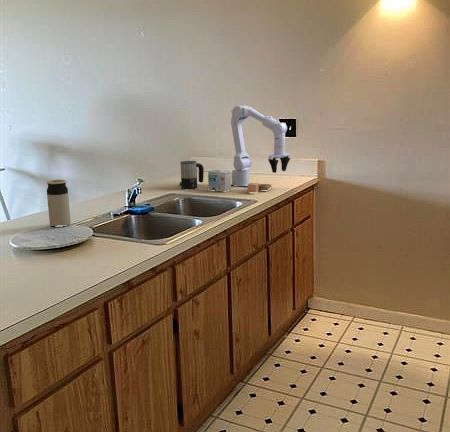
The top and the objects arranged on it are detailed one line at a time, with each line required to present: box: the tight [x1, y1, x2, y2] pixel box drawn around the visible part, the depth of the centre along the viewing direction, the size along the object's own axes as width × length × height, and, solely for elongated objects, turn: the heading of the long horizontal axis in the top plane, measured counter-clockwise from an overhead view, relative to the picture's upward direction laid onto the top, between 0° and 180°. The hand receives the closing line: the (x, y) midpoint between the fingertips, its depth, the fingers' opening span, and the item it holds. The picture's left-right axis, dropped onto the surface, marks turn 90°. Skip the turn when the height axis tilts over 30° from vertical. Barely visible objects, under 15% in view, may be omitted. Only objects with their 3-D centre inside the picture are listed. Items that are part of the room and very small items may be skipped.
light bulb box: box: [207, 169, 232, 192], centre depth 276 cm, size 11×7×11 cm, turn 62°
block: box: [247, 182, 260, 193], centre depth 269 cm, size 4×4×5 cm
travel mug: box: [46, 179, 72, 227], centre depth 205 cm, size 8×8×18 cm
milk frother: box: [179, 160, 205, 190], centre depth 287 cm, size 14×16×15 cm
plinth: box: [259, 183, 272, 190], centre depth 278 cm, size 8×8×2 cm
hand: (279, 171), depth 275 cm, fingers open, 7 cm apart
